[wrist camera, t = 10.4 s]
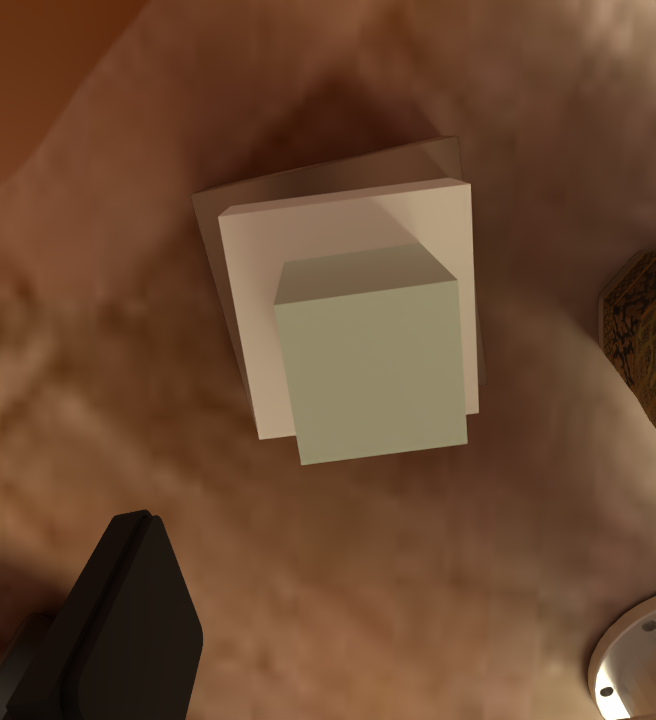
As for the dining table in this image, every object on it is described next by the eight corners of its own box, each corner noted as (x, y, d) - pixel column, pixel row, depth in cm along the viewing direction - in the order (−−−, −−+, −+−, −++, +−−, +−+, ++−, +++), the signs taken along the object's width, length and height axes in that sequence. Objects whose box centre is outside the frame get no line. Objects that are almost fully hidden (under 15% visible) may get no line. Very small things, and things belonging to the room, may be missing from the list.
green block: (420, 242, 21) (457, 280, 16) (430, 369, 23) (467, 443, 18) (284, 262, 22) (273, 305, 16) (304, 386, 23) (301, 465, 18)
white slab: (449, 177, 24) (470, 183, 21) (458, 379, 27) (478, 413, 24) (230, 205, 24) (217, 216, 21) (265, 403, 27) (259, 439, 24)
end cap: (195, 657, 37) (171, 766, 30) (135, 724, 39) (101, 839, 32) (51, 581, 34) (-8, 681, 28) (-5, 655, 36) (-73, 765, 30)
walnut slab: (439, 136, 27) (457, 136, 23) (468, 358, 31) (487, 384, 27) (204, 187, 27) (189, 194, 24) (262, 399, 31) (256, 430, 28)
